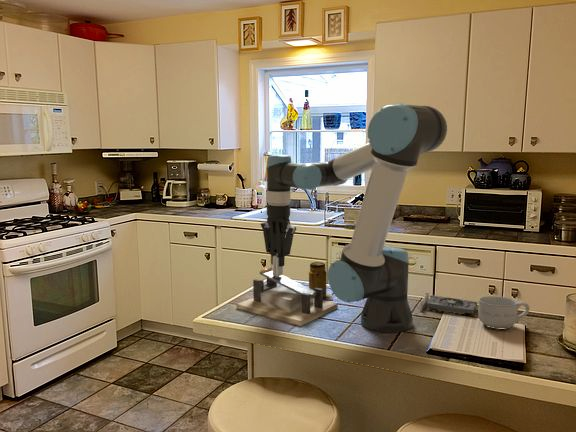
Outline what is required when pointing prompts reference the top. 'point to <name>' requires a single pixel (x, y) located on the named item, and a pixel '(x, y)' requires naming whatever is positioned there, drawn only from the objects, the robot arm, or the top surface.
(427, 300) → the graphics card
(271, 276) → the retention strap
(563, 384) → the top surface
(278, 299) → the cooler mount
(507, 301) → the teacup
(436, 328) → the top surface
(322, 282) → the condiment
